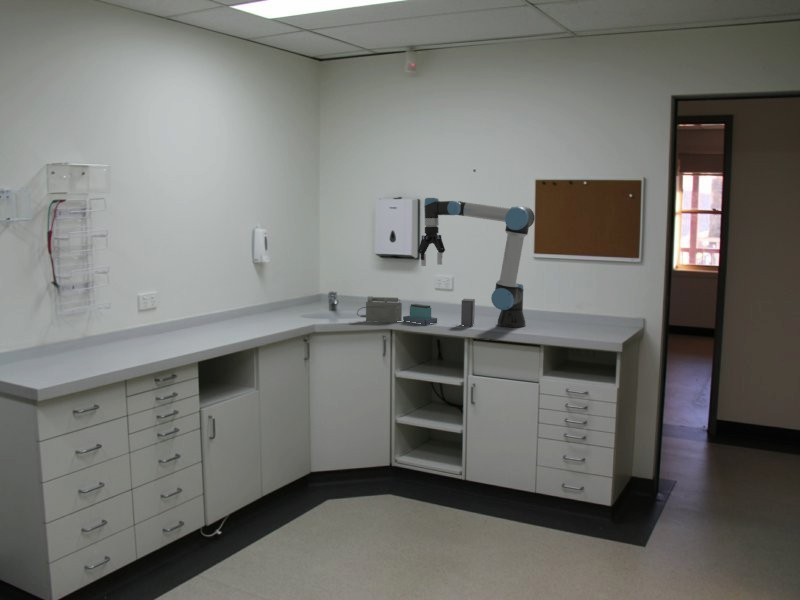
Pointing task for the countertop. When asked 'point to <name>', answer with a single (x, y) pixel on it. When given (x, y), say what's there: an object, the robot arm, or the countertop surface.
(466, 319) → the grey upright block
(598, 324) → the countertop surface
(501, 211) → the robot arm
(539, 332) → the countertop surface
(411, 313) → the teal-edged grey panel
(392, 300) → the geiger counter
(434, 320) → the tray
